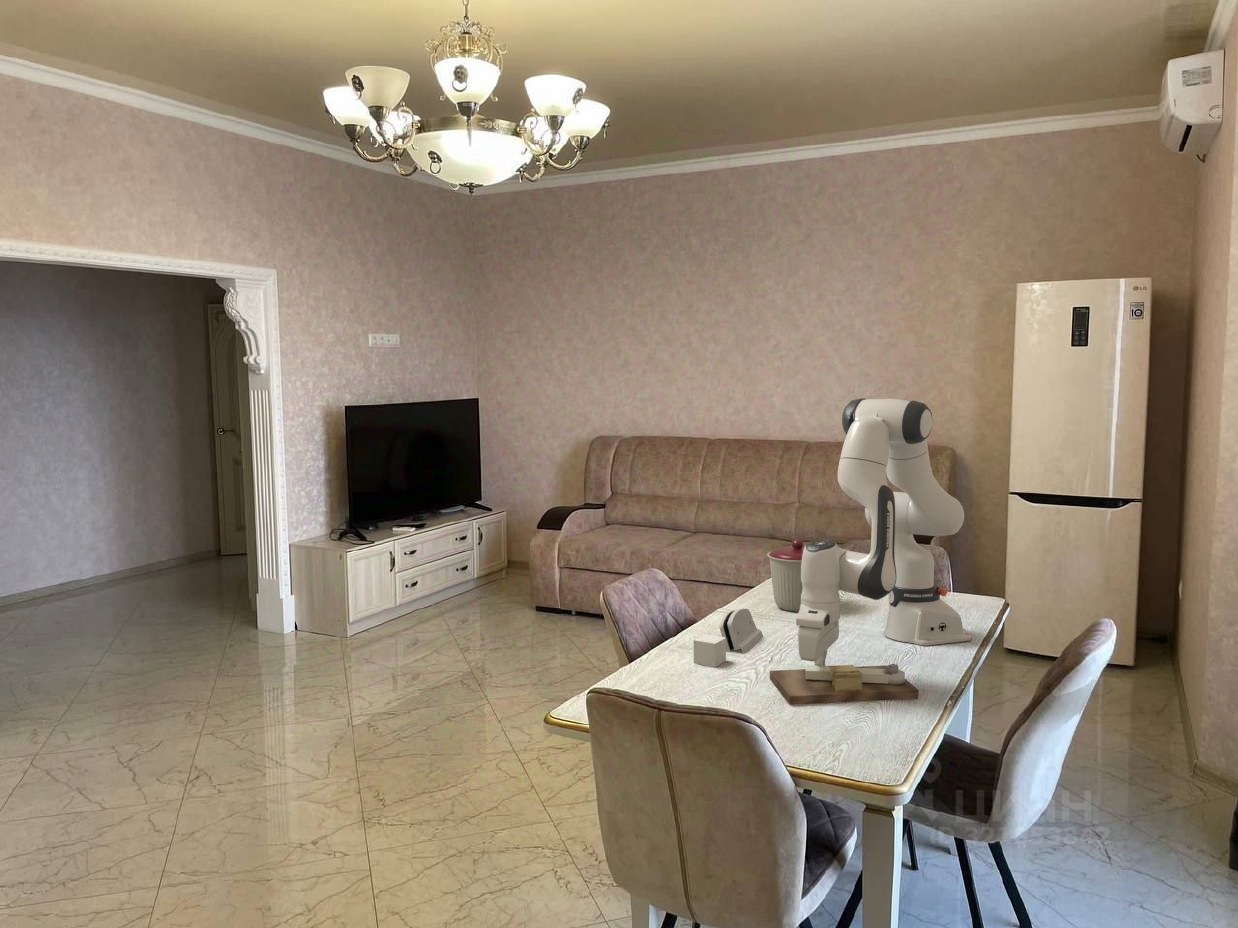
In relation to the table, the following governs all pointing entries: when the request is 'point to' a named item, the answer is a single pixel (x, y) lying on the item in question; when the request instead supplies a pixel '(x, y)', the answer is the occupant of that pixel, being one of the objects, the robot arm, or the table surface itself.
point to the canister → (787, 575)
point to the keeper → (845, 678)
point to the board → (821, 690)
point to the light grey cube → (709, 650)
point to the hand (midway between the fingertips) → (820, 668)
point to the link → (868, 674)
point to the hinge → (739, 630)
